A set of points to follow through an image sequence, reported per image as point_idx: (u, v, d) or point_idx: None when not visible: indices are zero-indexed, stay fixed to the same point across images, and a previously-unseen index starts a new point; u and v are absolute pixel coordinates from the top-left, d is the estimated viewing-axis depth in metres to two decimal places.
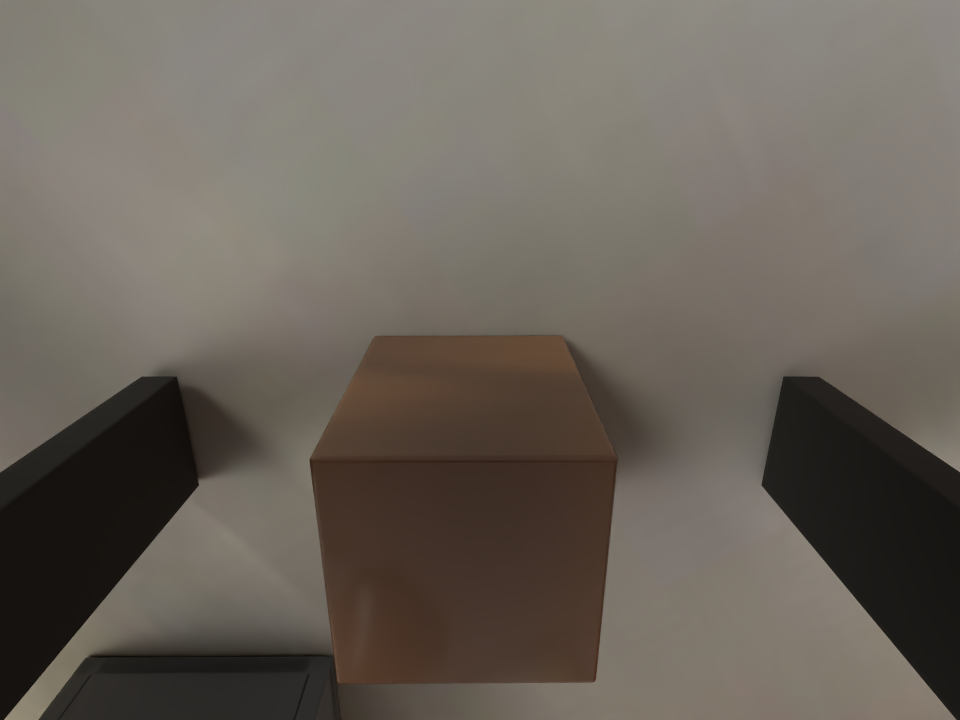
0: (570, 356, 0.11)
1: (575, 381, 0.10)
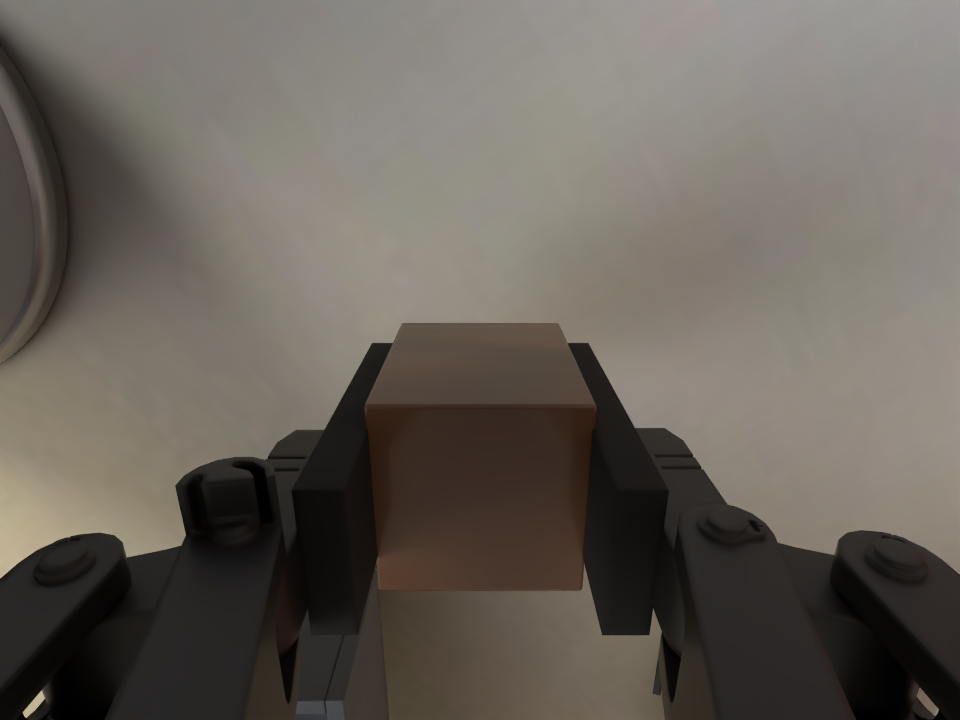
0: (564, 338, 0.13)
1: (567, 356, 0.12)
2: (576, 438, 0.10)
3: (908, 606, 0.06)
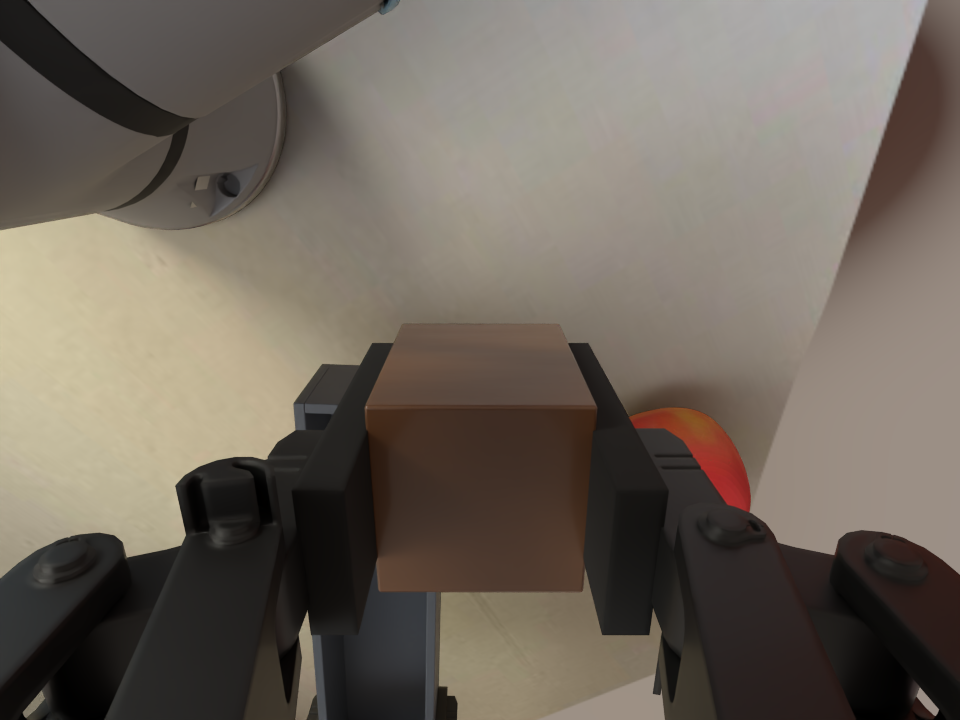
0: (564, 339, 0.13)
1: (568, 356, 0.12)
2: (577, 439, 0.10)
3: (908, 606, 0.06)
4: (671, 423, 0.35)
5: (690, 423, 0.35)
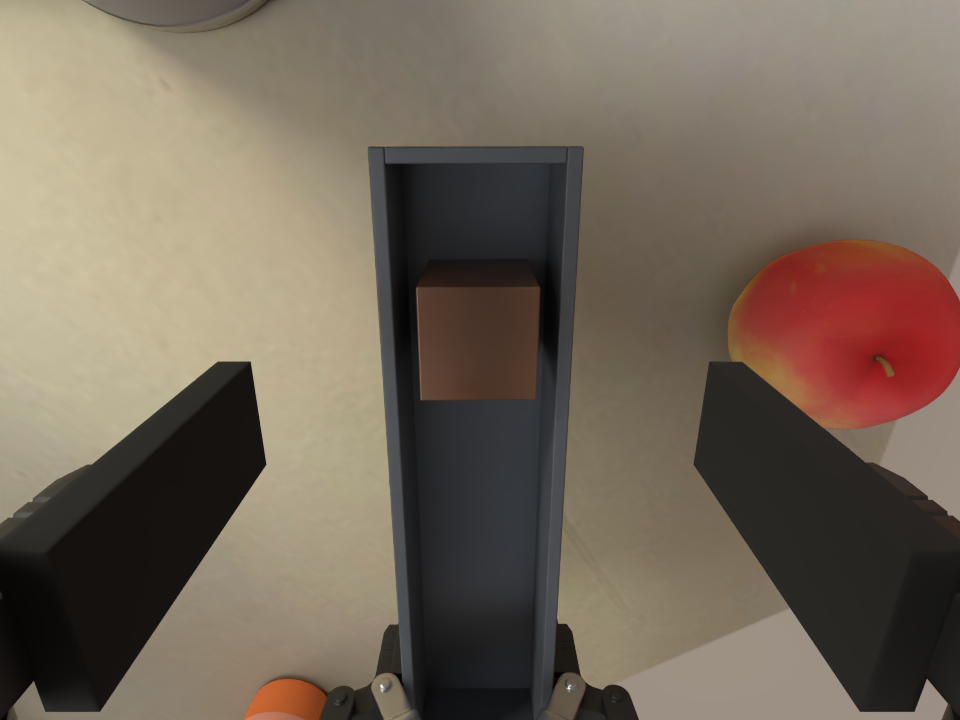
0: (529, 265, 0.22)
1: (529, 271, 0.20)
2: (529, 305, 0.18)
3: None
4: (845, 247, 0.27)
5: (872, 245, 0.26)
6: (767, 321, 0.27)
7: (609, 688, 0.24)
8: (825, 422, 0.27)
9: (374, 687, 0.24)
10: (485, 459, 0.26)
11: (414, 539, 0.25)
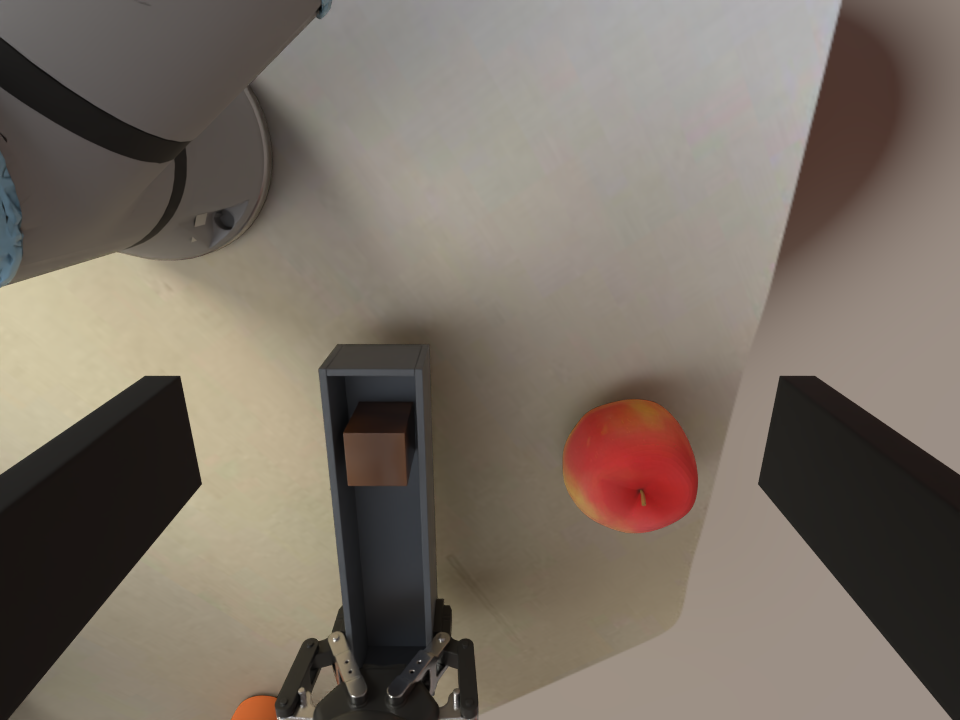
0: (410, 408, 0.40)
1: (407, 416, 0.39)
2: (400, 441, 0.37)
3: None
4: (625, 413, 0.40)
5: (642, 412, 0.39)
6: (574, 462, 0.40)
7: (462, 640, 0.43)
8: (615, 529, 0.40)
9: (329, 639, 0.43)
10: (396, 508, 0.44)
11: (353, 554, 0.44)
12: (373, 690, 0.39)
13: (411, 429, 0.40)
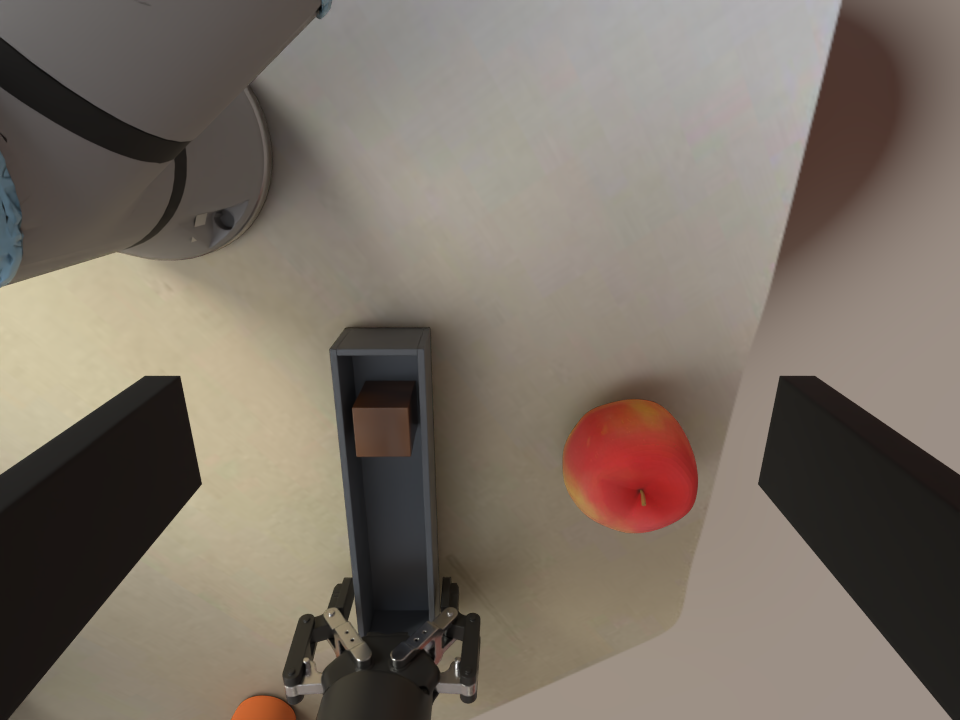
0: (413, 387, 0.44)
1: (410, 393, 0.42)
2: (404, 415, 0.40)
3: None
4: (625, 413, 0.40)
5: (642, 412, 0.39)
6: (574, 462, 0.40)
7: (471, 614, 0.45)
8: (615, 529, 0.40)
9: (325, 614, 0.45)
10: (400, 480, 0.48)
11: (361, 523, 0.47)
12: (377, 655, 0.41)
13: (414, 405, 0.44)
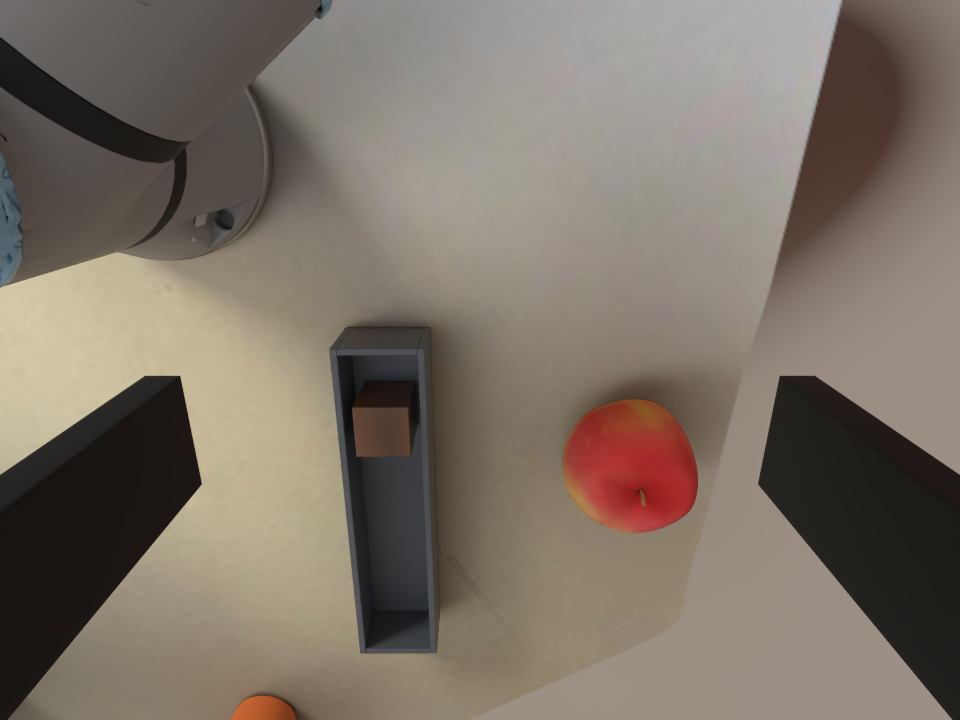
0: (413, 386, 0.44)
1: (410, 393, 0.42)
2: (404, 415, 0.40)
3: None
4: (625, 413, 0.40)
5: (642, 412, 0.39)
6: (574, 462, 0.40)
7: None
8: (615, 529, 0.40)
9: None
10: (400, 480, 0.48)
11: (361, 523, 0.47)
12: None
13: (414, 405, 0.44)
